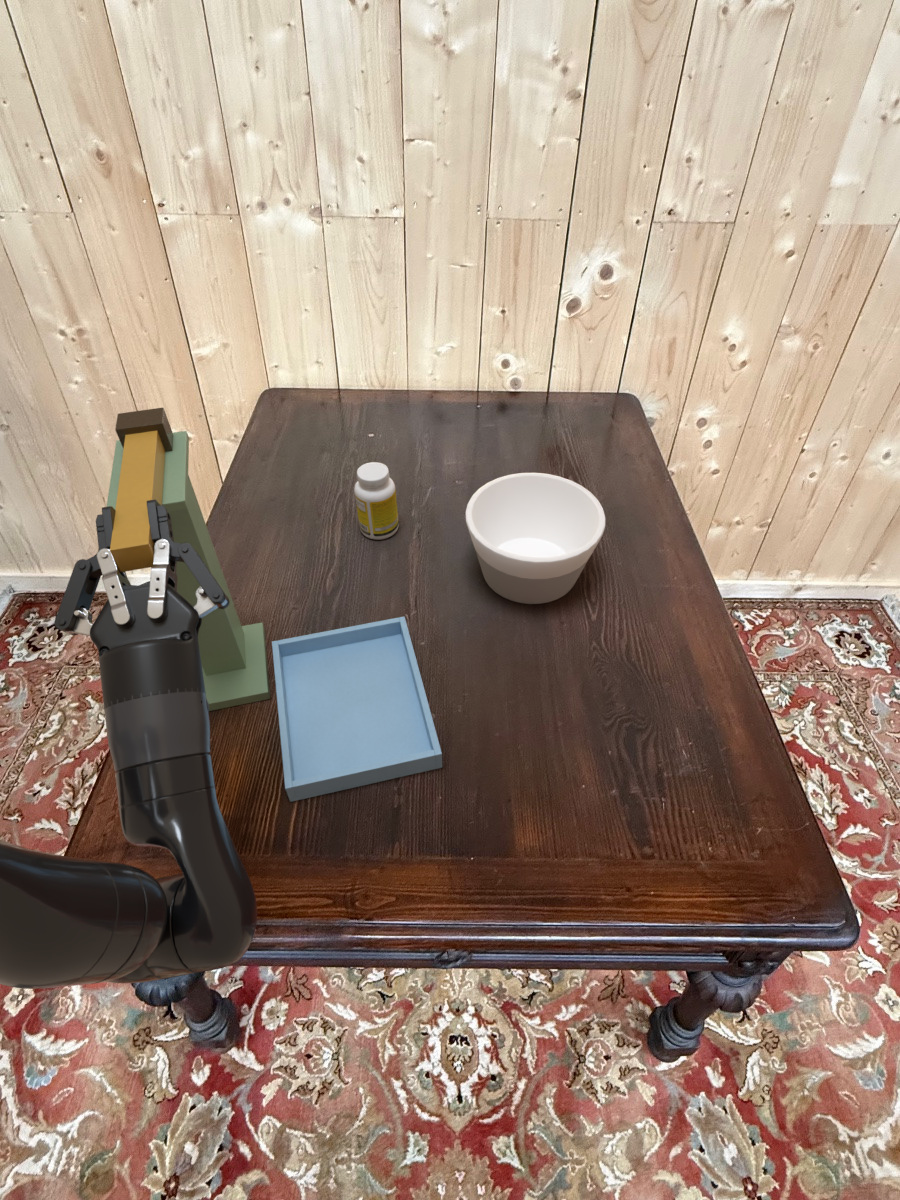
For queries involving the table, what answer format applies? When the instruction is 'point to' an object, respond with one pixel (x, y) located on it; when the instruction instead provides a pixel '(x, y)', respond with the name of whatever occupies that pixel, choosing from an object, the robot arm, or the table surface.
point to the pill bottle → (376, 501)
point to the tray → (352, 709)
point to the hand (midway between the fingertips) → (132, 507)
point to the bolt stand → (223, 642)
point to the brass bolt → (139, 484)
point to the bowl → (533, 534)
